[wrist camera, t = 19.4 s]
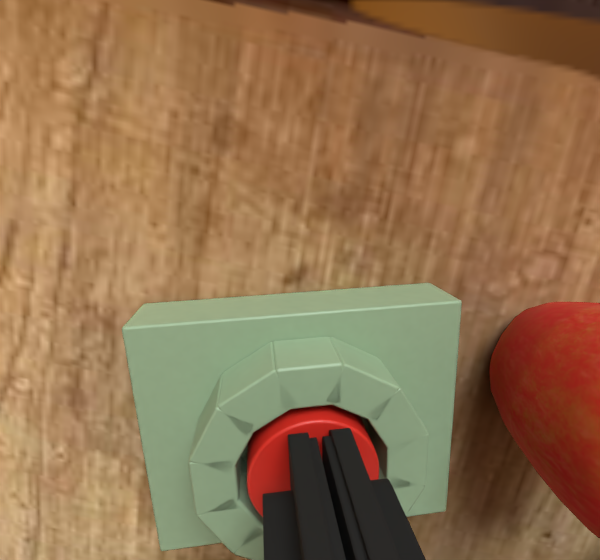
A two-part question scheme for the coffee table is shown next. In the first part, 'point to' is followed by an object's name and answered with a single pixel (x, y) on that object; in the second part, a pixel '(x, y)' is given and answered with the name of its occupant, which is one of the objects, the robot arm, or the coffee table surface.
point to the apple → (555, 398)
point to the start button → (275, 456)
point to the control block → (288, 395)
